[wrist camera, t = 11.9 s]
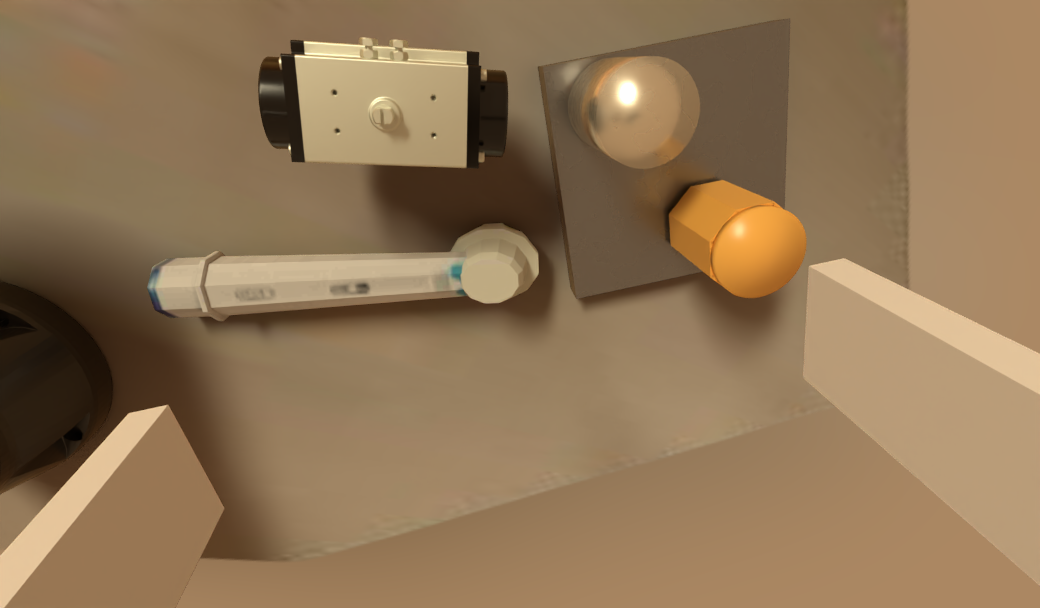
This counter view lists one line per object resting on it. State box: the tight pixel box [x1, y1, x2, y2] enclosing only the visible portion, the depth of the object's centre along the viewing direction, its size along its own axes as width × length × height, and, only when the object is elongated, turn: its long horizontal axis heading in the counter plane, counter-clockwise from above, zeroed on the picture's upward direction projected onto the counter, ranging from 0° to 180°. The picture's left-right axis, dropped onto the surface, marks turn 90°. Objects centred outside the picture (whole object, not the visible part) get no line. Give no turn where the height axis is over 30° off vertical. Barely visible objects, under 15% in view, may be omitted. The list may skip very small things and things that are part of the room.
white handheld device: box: [147, 223, 539, 321], centre depth 37 cm, size 5×7×25 cm
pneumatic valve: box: [258, 38, 508, 168], centre depth 30 cm, size 6×12×12 cm, turn 87°
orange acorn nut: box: [669, 180, 806, 298], centre depth 35 cm, size 6×6×7 cm
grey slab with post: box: [538, 19, 790, 299], centre depth 35 cm, size 16×16×9 cm
